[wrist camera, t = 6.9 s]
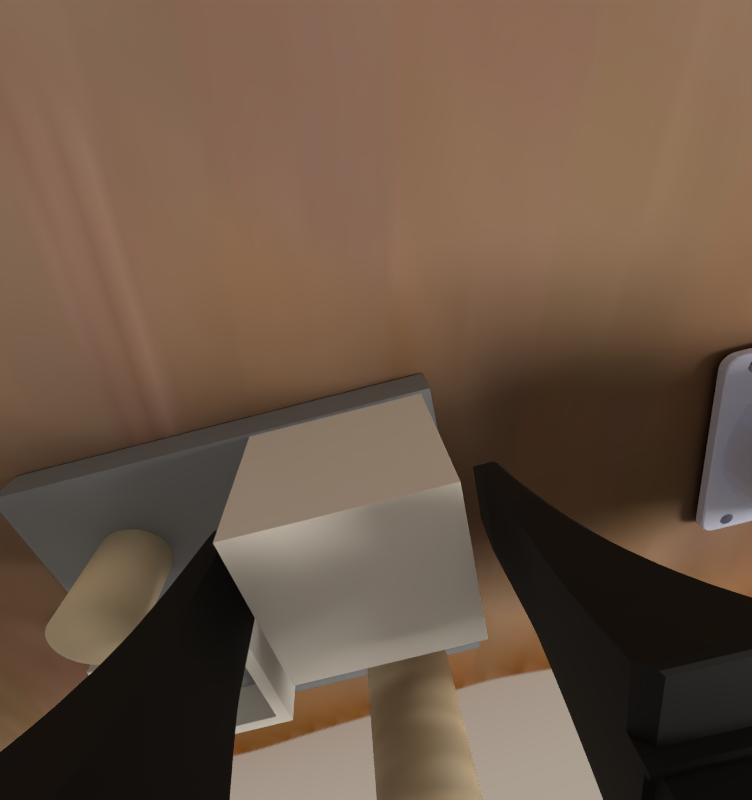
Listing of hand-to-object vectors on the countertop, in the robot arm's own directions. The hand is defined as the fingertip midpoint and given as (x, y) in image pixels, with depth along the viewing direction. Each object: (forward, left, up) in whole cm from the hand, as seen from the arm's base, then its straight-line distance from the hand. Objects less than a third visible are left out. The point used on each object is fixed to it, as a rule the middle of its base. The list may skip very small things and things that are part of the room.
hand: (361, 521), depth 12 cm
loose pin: (0, +7, -2) cm, 7 cm away
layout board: (+4, +4, -3) cm, 6 cm away
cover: (0, 0, -2) cm, 2 cm away
